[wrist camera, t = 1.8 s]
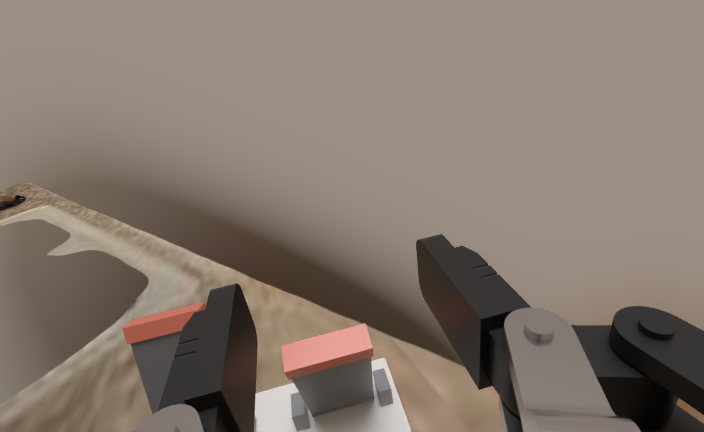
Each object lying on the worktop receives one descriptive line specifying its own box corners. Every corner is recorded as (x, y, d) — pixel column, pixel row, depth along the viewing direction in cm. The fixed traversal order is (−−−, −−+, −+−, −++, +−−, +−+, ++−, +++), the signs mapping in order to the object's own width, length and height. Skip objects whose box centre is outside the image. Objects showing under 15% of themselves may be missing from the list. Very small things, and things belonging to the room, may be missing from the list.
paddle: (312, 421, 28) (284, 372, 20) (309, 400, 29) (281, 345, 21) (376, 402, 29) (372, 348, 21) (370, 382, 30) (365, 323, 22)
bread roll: (-27, 219, 100) (-36, 208, 98) (-11, 208, 107) (-19, 197, 105) (17, 209, 102) (9, 197, 100) (30, 198, 109) (22, 187, 108)
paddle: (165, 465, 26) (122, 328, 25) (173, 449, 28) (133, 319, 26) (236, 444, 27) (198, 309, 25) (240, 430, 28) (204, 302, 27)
